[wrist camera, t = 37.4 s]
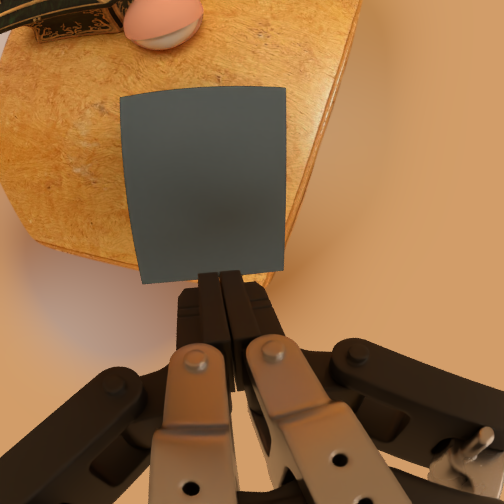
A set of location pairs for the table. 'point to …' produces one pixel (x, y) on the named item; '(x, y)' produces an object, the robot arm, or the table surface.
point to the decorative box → (63, 17)
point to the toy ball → (162, 22)
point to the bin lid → (205, 180)
